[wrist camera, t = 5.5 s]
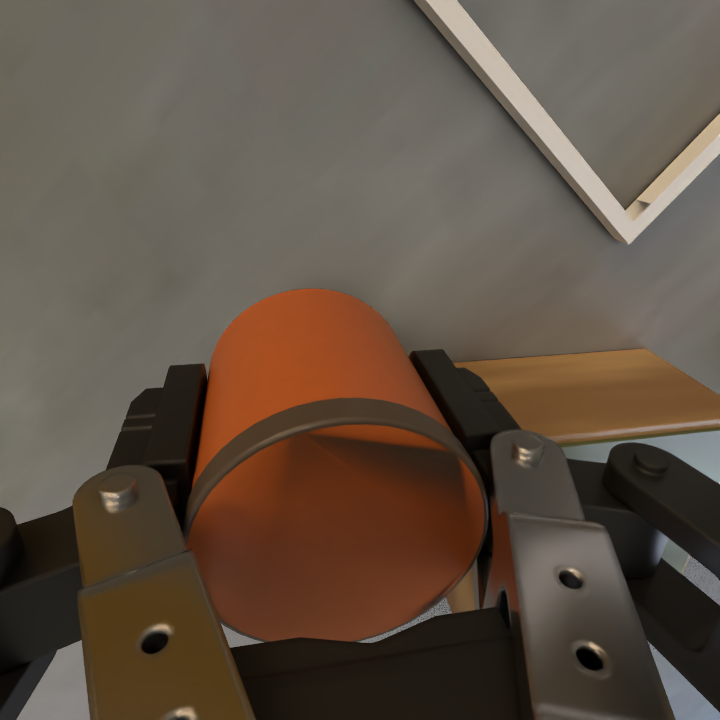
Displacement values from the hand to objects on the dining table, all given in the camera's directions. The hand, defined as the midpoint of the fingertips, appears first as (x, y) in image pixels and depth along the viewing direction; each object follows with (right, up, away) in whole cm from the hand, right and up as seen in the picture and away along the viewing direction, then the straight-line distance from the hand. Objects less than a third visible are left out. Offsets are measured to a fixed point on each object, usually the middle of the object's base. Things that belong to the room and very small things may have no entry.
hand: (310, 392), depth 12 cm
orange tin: (0, 0, +1) cm, 1 cm away
